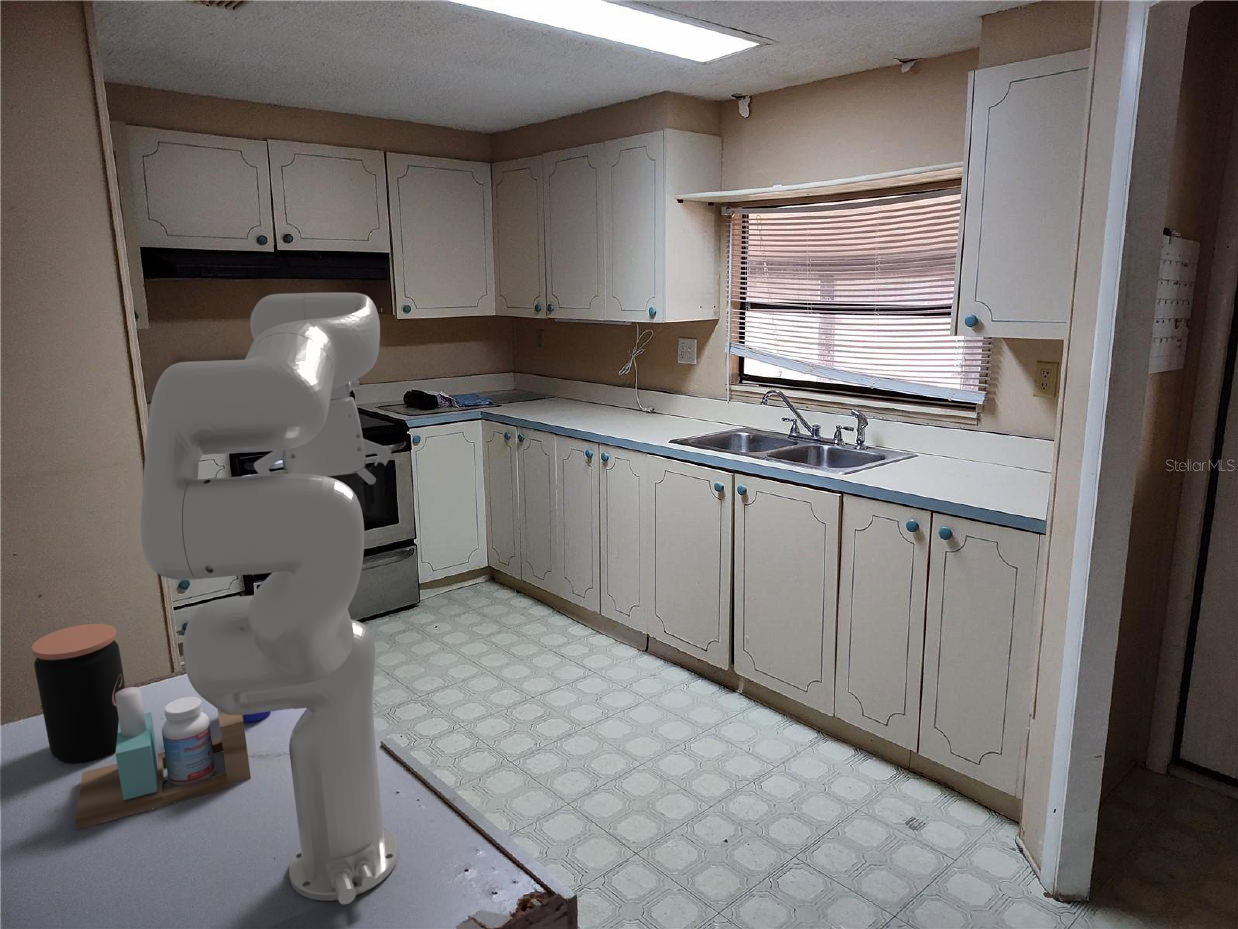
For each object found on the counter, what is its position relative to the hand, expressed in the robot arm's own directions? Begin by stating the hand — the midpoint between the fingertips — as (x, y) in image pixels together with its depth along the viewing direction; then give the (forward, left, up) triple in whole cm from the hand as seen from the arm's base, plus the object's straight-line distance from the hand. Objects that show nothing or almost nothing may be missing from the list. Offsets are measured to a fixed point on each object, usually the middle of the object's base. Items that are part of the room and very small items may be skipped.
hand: (330, 516), depth 111 cm
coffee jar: (+26, +34, -38) cm, 58 cm away
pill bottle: (+10, +21, -38) cm, 45 cm away
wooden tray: (+10, +24, -38) cm, 46 cm away
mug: (+25, +10, -38) cm, 47 cm away
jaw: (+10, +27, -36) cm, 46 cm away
